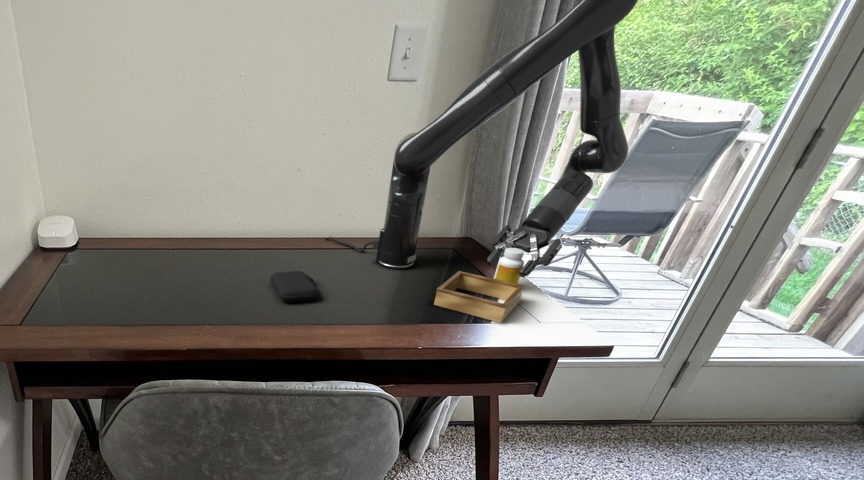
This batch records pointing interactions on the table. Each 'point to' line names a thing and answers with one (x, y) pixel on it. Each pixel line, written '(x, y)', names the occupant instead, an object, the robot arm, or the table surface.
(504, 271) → the supplement bottle
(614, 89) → the robot arm
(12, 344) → the table surface
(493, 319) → the wooden box frame
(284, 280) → the carrying case
